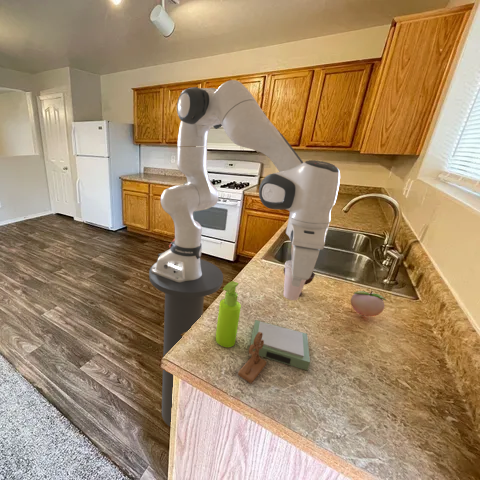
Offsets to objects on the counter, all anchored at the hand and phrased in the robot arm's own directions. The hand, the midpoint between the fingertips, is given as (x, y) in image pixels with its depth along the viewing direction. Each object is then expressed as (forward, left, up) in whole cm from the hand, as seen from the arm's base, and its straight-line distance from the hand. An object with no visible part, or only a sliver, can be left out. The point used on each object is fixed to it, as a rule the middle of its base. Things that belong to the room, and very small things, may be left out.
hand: (294, 278), depth 70 cm
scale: (0, -1, -23) cm, 23 cm away
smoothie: (0, 0, -6) cm, 6 cm away
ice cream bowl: (+5, +34, -23) cm, 41 cm away
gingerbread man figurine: (-6, -13, -23) cm, 27 cm away
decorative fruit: (+27, +28, -23) cm, 45 cm away
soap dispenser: (-15, -5, -23) cm, 28 cm away
